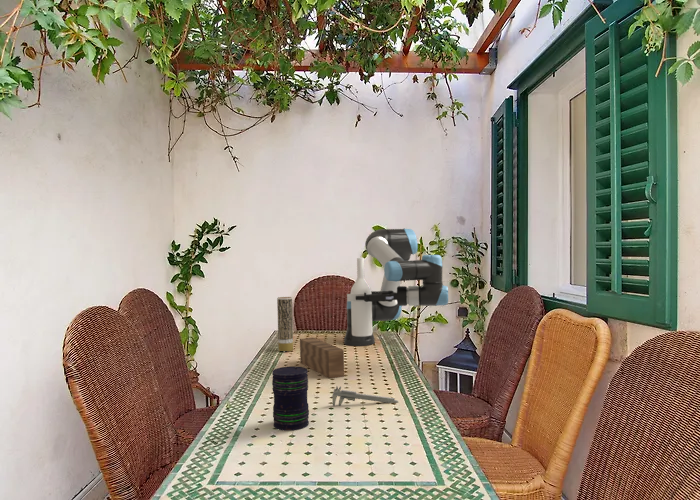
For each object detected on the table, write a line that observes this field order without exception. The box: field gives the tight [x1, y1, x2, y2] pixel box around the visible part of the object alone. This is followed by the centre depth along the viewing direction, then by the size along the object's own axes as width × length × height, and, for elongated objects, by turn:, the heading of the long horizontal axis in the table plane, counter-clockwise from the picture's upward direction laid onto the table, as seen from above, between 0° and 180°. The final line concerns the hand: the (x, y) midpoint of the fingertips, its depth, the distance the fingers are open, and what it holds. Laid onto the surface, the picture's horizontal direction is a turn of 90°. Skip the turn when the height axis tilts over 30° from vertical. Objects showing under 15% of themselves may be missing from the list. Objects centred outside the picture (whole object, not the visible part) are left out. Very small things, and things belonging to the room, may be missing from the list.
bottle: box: [350, 257, 373, 337], centre depth 204 cm, size 8×8×30 cm
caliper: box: [331, 386, 399, 407], centre depth 161 cm, size 20×1×6 cm, turn 97°
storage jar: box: [271, 365, 310, 432], centre depth 144 cm, size 10×10×15 cm
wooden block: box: [299, 337, 345, 380], centre depth 207 cm, size 30×6×10 cm, turn 26°
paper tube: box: [276, 296, 294, 352], centre depth 244 cm, size 7×7×25 cm
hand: (349, 296), depth 205 cm, fingers closed on bottle, 8 cm apart
